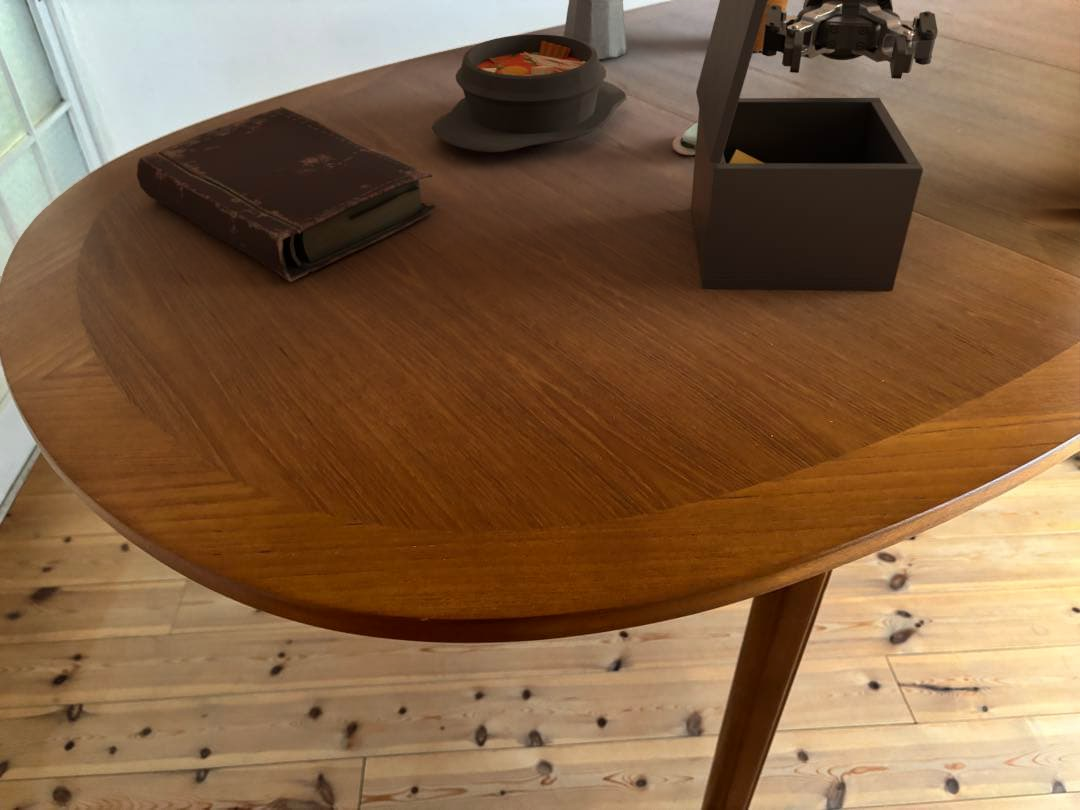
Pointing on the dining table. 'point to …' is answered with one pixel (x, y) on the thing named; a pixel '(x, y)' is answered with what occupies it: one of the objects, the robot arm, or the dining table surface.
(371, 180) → the diary
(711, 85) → the lid
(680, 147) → the pacifier
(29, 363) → the dining table surface
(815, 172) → the dark open-top crate
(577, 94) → the casserole
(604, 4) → the moka pot
